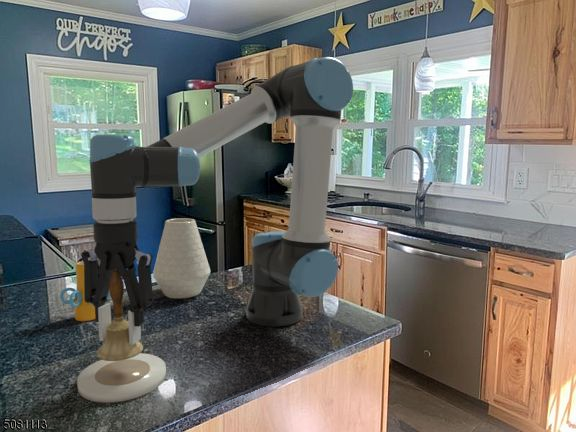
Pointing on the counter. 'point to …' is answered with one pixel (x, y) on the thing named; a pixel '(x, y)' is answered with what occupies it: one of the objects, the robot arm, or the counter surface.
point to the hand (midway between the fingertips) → (120, 339)
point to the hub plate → (121, 378)
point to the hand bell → (118, 327)
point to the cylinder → (80, 297)
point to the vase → (181, 260)
